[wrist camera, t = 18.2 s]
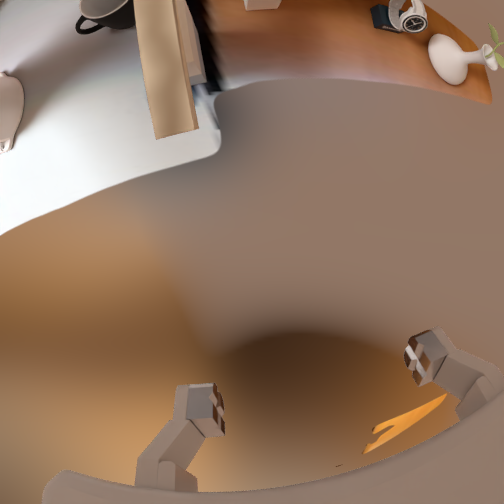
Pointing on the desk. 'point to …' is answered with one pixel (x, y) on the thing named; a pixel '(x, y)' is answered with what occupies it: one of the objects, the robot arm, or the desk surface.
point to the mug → (106, 14)
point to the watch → (400, 17)
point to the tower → (261, 4)
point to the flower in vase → (460, 57)
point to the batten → (164, 67)
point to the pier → (191, 45)
